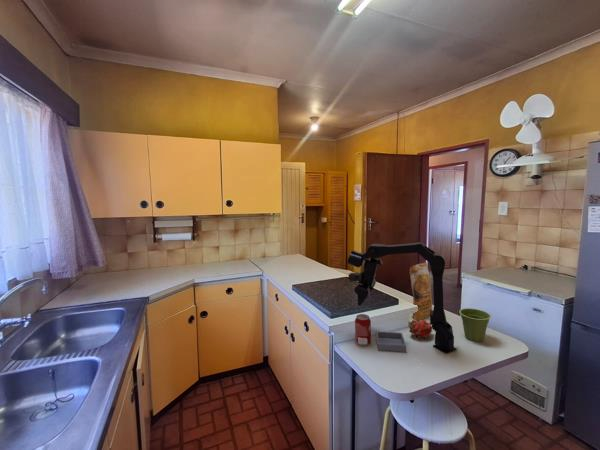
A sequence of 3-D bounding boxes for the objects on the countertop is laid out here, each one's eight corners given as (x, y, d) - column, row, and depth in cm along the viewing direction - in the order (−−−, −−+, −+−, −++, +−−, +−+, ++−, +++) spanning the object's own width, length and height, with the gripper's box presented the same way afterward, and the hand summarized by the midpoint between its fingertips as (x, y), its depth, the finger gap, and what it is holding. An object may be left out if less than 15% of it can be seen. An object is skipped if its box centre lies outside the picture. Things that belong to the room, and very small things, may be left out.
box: (402, 339, 123) (402, 332, 123) (406, 352, 112) (406, 345, 112) (376, 337, 125) (376, 331, 125) (377, 350, 114) (377, 343, 114)
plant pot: (453, 336, 124) (453, 312, 123) (467, 329, 130) (468, 306, 129) (481, 347, 114) (482, 321, 113) (495, 339, 120) (496, 314, 119)
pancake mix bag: (404, 318, 145) (404, 265, 142) (426, 309, 155) (426, 260, 153) (416, 322, 139) (416, 268, 137) (437, 313, 149) (437, 262, 147)
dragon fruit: (407, 341, 124) (428, 340, 127) (419, 337, 117) (441, 336, 121) (402, 322, 128) (422, 321, 132) (413, 317, 122) (435, 317, 125)
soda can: (368, 348, 116) (367, 321, 115) (353, 344, 120) (352, 317, 119) (373, 341, 122) (372, 315, 121) (358, 337, 126) (358, 312, 125)
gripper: (357, 261, 136) (350, 290, 139) (346, 270, 120) (339, 302, 123) (379, 268, 132) (371, 297, 135) (372, 278, 115) (363, 312, 118)
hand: (361, 302), depth 128 cm, fingers open, 9 cm apart
